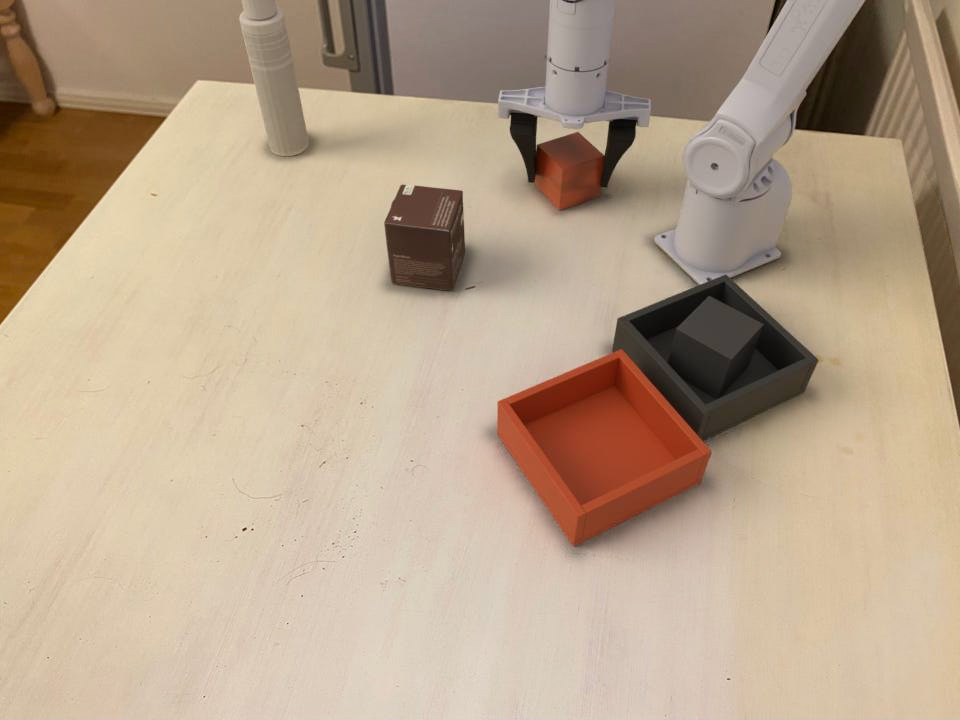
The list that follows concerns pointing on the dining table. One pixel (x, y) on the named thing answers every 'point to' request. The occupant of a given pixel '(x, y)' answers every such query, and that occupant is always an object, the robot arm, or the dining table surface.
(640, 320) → the charcoal bin
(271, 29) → the bottle
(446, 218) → the box
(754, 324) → the grey block
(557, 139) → the red block
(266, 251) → the dining table surface
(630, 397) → the rust bin
